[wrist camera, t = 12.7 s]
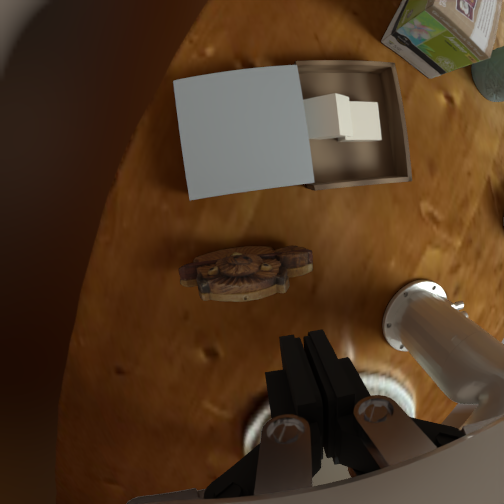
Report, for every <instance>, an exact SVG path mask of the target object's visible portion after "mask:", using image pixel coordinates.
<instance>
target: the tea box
mask: <svg viewBox="0 0 504 504" xmlns="http://www.w3.org/2000/svg"><path fill="white" fill-rule="evenodd" d="M501 6H502V0H402V2H401V4H400V6H399V8H398V10H397V12H396V13H395V15H394V17H393V19H392V21H391V23H390V25H389V27H388V28H387V30H386V32H385V34H384V36H383V38H382V40H381V42H382V43H383V44H385V45H386V46H387V47H389V48H390V49H392V50H393V51H394V52H396V53H397V54H398V55H400V56H401V57H402V58H404V59H405V60H406V61H408V62H409V63H410V64H411V65H413V66H414V67H415V68H417V69H418V70H419V71H420V72H421V73H423V74H424V75H425V76H426V77H428V78H434V77H437V76H440V75H442V74H445V73H447V72H451V71H453V70H456V69H458V68H462V67H465V66H468V65H470V64H473V63H477V62H480V61H483V60H485V59H489V58H490V56H491V53H492V50H493V46H494V42H495V37H496V33H497V28H498V22H499V17H500V12H501Z"/></svg>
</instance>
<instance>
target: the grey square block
mask: <svg viewBox="0 0 504 504" xmlns="http://www.w3.org/2000/svg"><path fill="white" fill-rule="evenodd" d="M173 83H174V92H175V100H176V108H177V116H178V124H179V132H180V139H181V146H182V153H183V160H184V167H185V173H186V180H187V186H188V193H189V199H190V200H195V199H201V198H207V197H213V196H219V195H226V194H233V193H239V192H246V191H253V190H261V189H268V188H276V187H284V186H292V185H300V184H309V183H315V182H314V174H313V166H312V158H311V150H310V143H309V136H308V129H307V122H306V116H305V109H304V103H303V97H302V91H301V85H300V79H299V73H298V68H297V65H284V66H270V67H259V68H250V69H241V70H233V71H226V72H219V73H212V74H206V75H200V76H194V77H189V78H184V79H179V80H174V81H173Z"/></svg>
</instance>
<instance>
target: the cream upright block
mask: <svg viewBox="0 0 504 504" xmlns="http://www.w3.org/2000/svg"><path fill="white" fill-rule="evenodd" d="M303 103H304V109H305V116H306V122H307V129H308V136H309V139H319V140H321V139H330V138H341V137H352V136H353V129H352V120H351V111H350V102H349V97H347V96H344V95H340V94H337V93H333V94H328V95H323V96H318V97H314V98H309V99H304V100H303Z"/></svg>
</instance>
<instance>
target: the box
mask: <svg viewBox="0 0 504 504" xmlns="http://www.w3.org/2000/svg"><path fill="white" fill-rule="evenodd" d="M294 65H297V68H298V73H299V79H300V85H301V91H302V97H303V100H304V99H309V98H314V97H318V96H323V95H328V94H333V93H337V94H340V95H344V96H347V97H349V101H359V102H378V110H379V119H380V128H381V138H382V140H379V141H373V142H338V138H330V139H321V140H319V139H309V143H310V150H311V158H312V166H313V174H314V182H315V183H309V184H306V186H307V188H308V189H311V190H323V189H332V188H341V187H351V186H361V185H372V184H383V183H395V182H407V181H412V174H411V163H410V153H409V145H408V137H407V129H406V122H405V115H404V109H403V103H402V98H401V92H400V87H399V82H398V77H397V72H396V67H395V63H390V62H376V61H353V60H311V61H296V62H295V63H294Z"/></svg>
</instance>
